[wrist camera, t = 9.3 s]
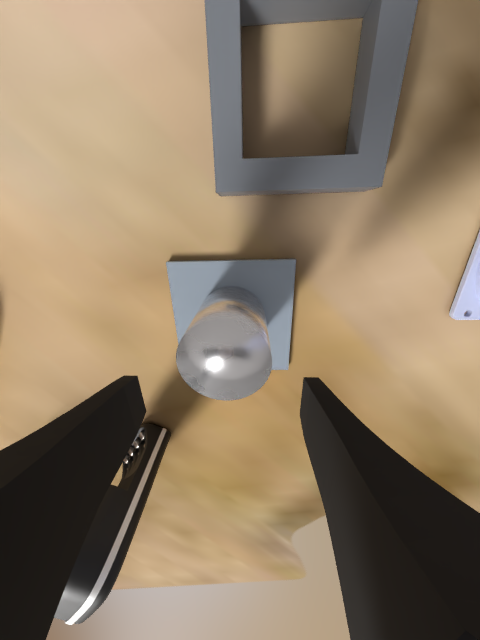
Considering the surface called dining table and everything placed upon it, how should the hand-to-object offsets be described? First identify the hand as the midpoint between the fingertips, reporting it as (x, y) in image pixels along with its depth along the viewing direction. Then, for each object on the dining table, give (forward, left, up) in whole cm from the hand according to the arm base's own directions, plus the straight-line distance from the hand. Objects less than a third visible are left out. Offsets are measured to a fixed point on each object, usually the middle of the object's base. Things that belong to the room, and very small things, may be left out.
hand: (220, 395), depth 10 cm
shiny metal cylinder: (0, 0, -8) cm, 8 cm away
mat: (0, 0, -9) cm, 9 cm away
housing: (-4, -13, -9) cm, 16 cm away
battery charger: (+10, +14, -9) cm, 19 cm away
